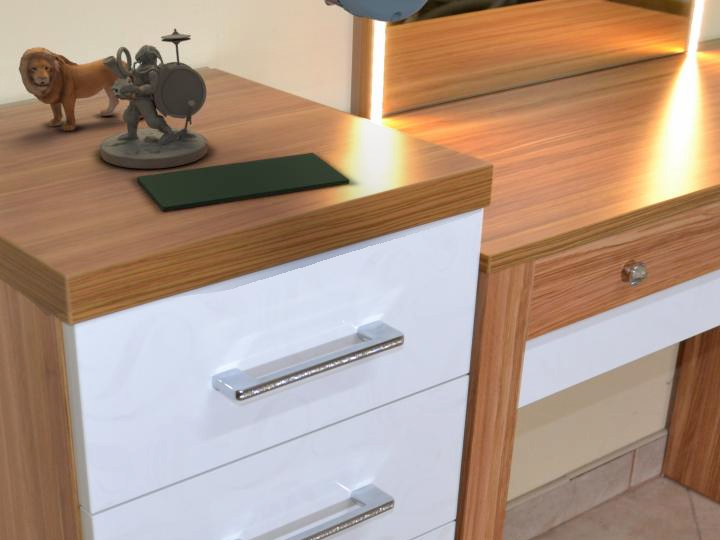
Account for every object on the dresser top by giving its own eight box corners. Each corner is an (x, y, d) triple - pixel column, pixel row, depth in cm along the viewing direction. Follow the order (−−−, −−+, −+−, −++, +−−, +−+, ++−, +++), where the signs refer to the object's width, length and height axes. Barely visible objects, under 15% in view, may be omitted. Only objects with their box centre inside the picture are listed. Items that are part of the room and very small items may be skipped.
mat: (163, 211, 101) (163, 207, 101) (136, 180, 109) (136, 176, 108) (349, 183, 108) (349, 179, 108) (312, 156, 116) (312, 152, 115)
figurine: (95, 142, 119) (82, 25, 114) (197, 133, 122) (190, 18, 117) (108, 174, 110) (96, 48, 105) (218, 162, 113) (212, 40, 108)
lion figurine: (41, 141, 119) (30, 55, 115) (17, 130, 123) (5, 46, 119) (161, 115, 128) (154, 34, 124) (135, 105, 132) (128, 26, 128)
